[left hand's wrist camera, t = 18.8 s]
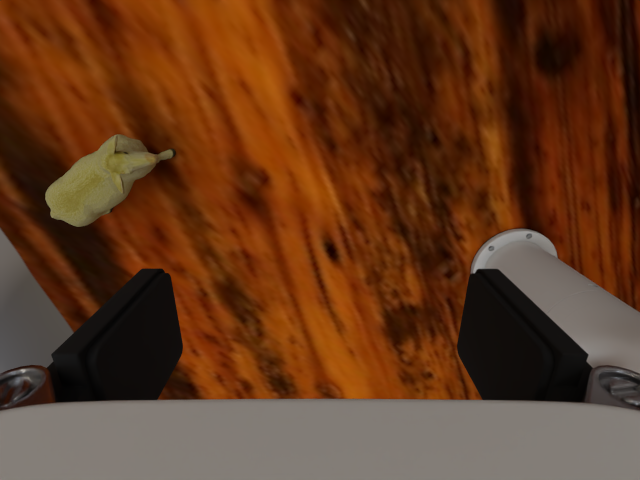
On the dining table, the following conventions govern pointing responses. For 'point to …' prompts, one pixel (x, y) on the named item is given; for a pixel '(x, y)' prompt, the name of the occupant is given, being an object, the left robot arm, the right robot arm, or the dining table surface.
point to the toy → (101, 180)
